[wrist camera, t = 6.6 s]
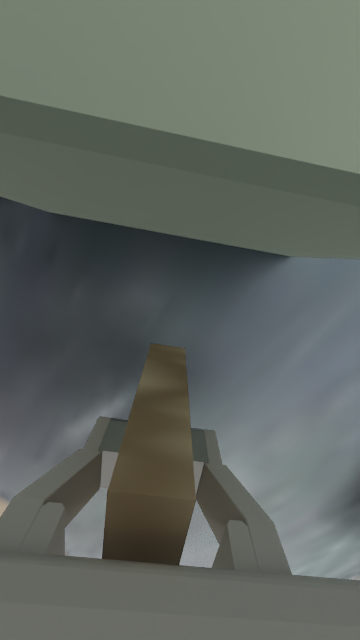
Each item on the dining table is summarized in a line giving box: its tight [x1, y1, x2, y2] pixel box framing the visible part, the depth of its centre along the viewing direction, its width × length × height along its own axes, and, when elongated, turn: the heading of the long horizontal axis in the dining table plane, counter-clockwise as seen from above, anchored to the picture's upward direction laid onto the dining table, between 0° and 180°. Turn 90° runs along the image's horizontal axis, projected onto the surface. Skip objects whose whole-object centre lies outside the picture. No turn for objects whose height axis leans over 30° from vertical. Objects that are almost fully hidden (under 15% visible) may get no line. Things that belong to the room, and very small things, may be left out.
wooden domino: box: [102, 343, 196, 565], centre depth 9 cm, size 2×5×8 cm, turn 171°
